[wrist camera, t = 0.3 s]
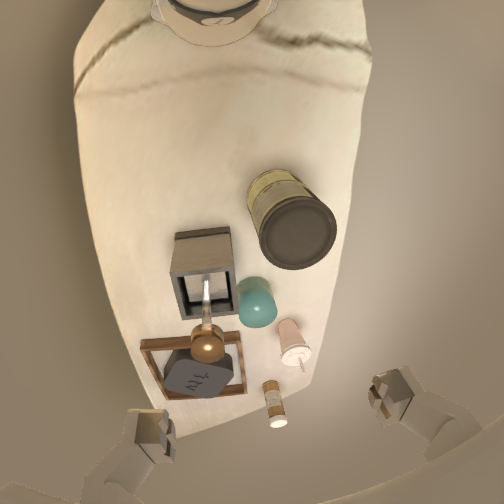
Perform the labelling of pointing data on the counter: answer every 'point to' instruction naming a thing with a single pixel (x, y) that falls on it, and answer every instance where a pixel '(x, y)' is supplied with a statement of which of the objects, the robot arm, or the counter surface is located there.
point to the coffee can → (290, 220)
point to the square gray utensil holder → (203, 269)
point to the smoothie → (292, 345)
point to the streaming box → (196, 374)
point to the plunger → (207, 316)
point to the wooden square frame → (185, 343)
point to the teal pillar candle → (256, 302)
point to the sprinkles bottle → (274, 404)
